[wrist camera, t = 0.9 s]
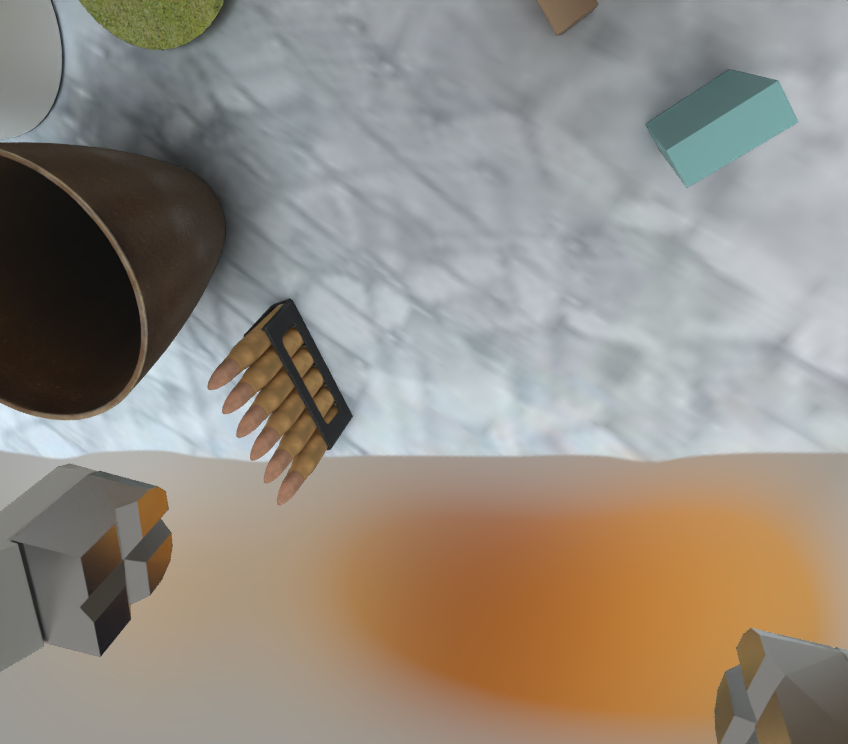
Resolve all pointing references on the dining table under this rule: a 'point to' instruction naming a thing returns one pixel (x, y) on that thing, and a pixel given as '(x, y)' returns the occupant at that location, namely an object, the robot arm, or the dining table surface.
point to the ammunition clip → (284, 395)
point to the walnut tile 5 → (566, 12)
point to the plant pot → (95, 271)
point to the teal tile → (720, 123)
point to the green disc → (154, 20)
